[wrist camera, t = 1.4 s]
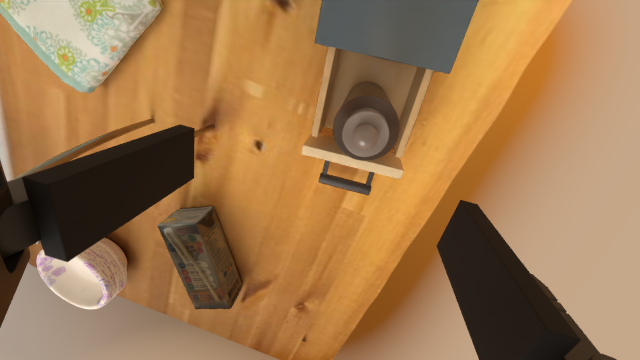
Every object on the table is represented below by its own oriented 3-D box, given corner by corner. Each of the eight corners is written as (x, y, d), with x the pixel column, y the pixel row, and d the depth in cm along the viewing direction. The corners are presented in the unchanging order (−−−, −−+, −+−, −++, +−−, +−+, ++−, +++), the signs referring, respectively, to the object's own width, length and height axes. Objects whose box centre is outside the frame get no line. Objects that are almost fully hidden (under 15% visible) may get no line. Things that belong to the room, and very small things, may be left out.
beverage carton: (216, 204, 47) (194, 224, 41) (246, 285, 55) (231, 313, 49) (177, 207, 49) (151, 227, 43) (211, 286, 56) (193, 312, 50)
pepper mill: (351, 77, 33) (337, 92, 17) (392, 86, 33) (416, 111, 17) (342, 117, 36) (320, 164, 20) (380, 127, 35) (390, 182, 19)
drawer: (386, 186, 40) (389, 209, 34) (306, 166, 41) (295, 184, 34) (438, 40, 31) (455, 35, 25) (336, 17, 32) (328, 7, 26)
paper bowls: (61, 226, 56) (17, 250, 49) (120, 222, 53) (81, 247, 46) (96, 281, 62) (61, 310, 55) (151, 280, 59) (121, 311, 52)
